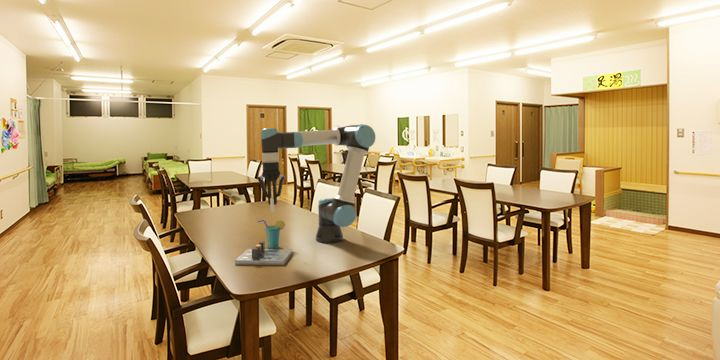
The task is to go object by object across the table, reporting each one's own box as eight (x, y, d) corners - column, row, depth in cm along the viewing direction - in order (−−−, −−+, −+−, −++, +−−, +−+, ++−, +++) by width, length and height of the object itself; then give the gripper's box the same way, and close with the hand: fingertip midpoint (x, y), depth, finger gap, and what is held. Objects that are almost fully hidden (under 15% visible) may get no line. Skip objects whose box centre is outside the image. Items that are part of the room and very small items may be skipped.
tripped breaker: (261, 252, 187) (261, 244, 187) (259, 254, 185) (259, 245, 184) (257, 252, 187) (257, 244, 187) (255, 254, 185) (255, 245, 185)
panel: (292, 253, 195) (292, 240, 194) (283, 265, 177) (283, 251, 176) (248, 252, 196) (247, 240, 195) (235, 264, 178) (234, 250, 177)
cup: (258, 250, 199) (257, 221, 197) (256, 247, 206) (255, 218, 205) (286, 248, 204) (285, 219, 203) (283, 244, 211) (282, 216, 210)
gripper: (286, 160, 189) (288, 209, 192) (259, 161, 190) (261, 210, 193) (282, 161, 182) (285, 212, 185) (254, 162, 182) (257, 213, 185)
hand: (273, 211), depth 189 cm, fingers closed
